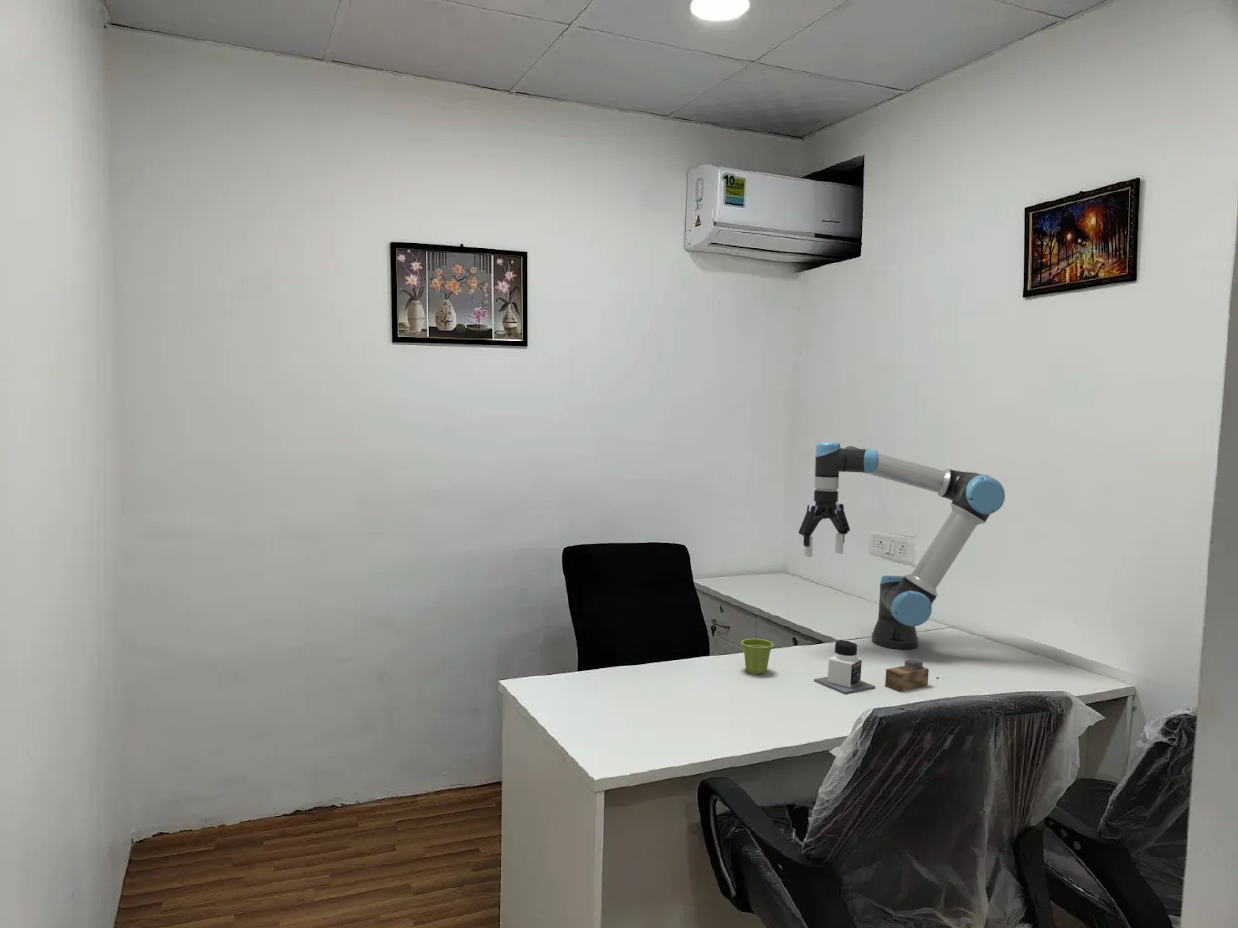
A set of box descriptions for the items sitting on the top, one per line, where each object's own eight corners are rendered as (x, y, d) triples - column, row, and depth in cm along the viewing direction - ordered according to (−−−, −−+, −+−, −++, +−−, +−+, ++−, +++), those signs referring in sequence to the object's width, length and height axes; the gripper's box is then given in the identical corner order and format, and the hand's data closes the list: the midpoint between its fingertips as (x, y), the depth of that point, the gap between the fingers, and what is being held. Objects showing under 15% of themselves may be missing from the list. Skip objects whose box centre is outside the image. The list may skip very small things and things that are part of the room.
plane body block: (913, 680, 247) (915, 657, 246) (927, 685, 242) (929, 662, 242) (885, 686, 241) (886, 662, 240) (898, 691, 236) (900, 667, 236)
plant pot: (735, 672, 248) (736, 643, 247) (746, 664, 256) (747, 636, 255) (766, 678, 243) (767, 649, 243) (775, 670, 252) (777, 641, 251)
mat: (844, 675, 249) (844, 673, 249) (875, 688, 239) (875, 686, 238) (814, 681, 243) (814, 679, 243) (844, 694, 232) (844, 692, 232)
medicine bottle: (850, 688, 236) (853, 646, 235) (826, 682, 240) (829, 641, 239) (860, 682, 241) (863, 641, 240) (837, 676, 246) (839, 636, 245)
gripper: (845, 487, 280) (843, 550, 282) (789, 489, 268) (786, 555, 269) (862, 489, 274) (859, 553, 275) (805, 492, 261) (803, 559, 263)
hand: (823, 554), depth 272 cm, fingers open, 13 cm apart
